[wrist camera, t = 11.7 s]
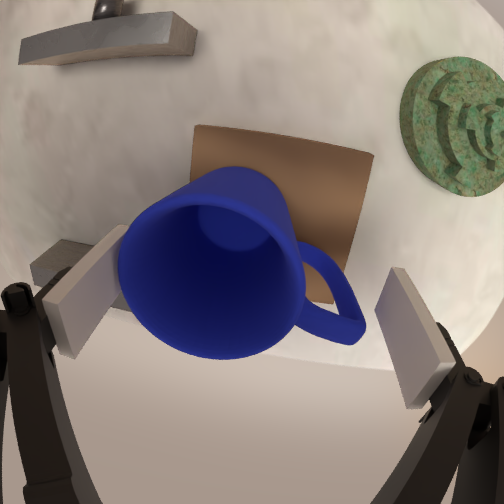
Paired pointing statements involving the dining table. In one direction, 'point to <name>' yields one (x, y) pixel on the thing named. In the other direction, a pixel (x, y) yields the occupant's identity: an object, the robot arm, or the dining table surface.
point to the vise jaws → (95, 48)
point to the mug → (228, 270)
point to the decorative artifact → (456, 125)
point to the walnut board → (297, 186)
